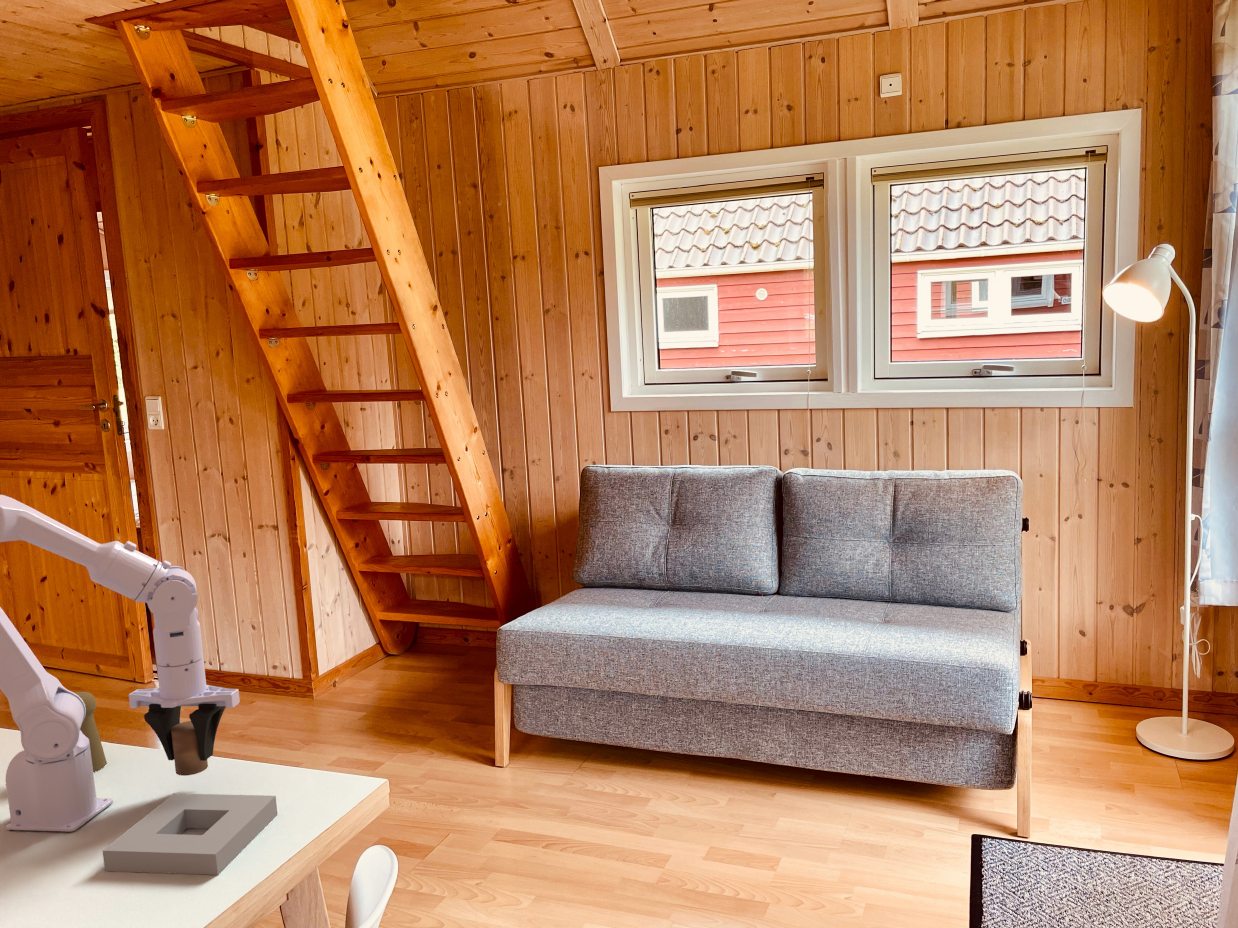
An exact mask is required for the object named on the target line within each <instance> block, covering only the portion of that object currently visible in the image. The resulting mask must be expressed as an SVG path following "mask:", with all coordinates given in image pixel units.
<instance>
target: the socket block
mask: <svg viewBox="0 0 1238 928" xmlns="http://www.w3.org/2000/svg"><path fill="white" fill-rule="evenodd" d="M277 815H278V806H277V797H276V795H259V794H258V795H257V794H218V793H217V794H214V793H213V794H212V793H211V794H210V793H208V794H207V793H172V794H171V795H170V796H169V797H167V798H166V799H165V800H163V801H162V802H161V803H160V804H159V805H157V806H156V807H155V808H154V809H152V810H151V811H150V812H148V813H147V814H146V815H145V816H143V818H141V819H140V820H139V821H137V822H136V823H135V824H134V825H132V826H131V827H130V828H129V829H128V830H126V831H125V832H124V833H123V834H121V835H120V836H119V837H117V838H116V839H115V840H114V841H112V842H111V843H110V844H109V845H107V847H105V848H104V849H102V857H103V859H102V860H103V865H104V871H105V872H125V873H132V872H133V873H150V874H151V873H153V874H154V873H155V874H156V873H157V874H158V873H159V874H184V875H186V874H187V875H188V874H189V875H206V876H207V875H210V876H213V875H215V876H219V875H220V873H221V872H222V871H224V869H226V867H227V866H228V865H229V864H230V863H232V861H233V860H234V859H236V857H237V856H239V855H240V853H241V852H242V851H243V850H244V849H245V848H246V847H247V846H248V845H249V844H250V843H251V842H252V841H253V840H254V839H255V838H256V837H257V836H258V835H259V834H260V833H261V832H262V831H263V830H264V829H265V828H266V827H267V826H268V824H270V823H271V822H272V820H273V819H275V818H276V817H277ZM186 829H202V830H203V829H207V830H206V831H205V832H204V833H203V834H183V832H184V831H185V830H186Z"/></svg>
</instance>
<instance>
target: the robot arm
mask: <svg viewBox="0 0 1238 928" xmlns="http://www.w3.org/2000/svg"><path fill="white" fill-rule="evenodd" d="M12 541H13V542H15V541H24V542H26V543H29V544H32V545H34V546H35V547H36V546H37V547H39V548H41V549H43V550H45V551H48V552H50V553H53V554H55V555H57V556H60V557H63V558H65V559H68V560H70V561H72V562H74V563H77V564H79V565H82V566H84V567H86V569H87V571H88V576H89V578H90V580H91V581H92V582H94V583H96V584H98V585H100V586H103V587H104V588H107V589H110V591H113V592H116V593H117V594H120V595H122V596H124V597H126V598H128V599H131V600H133V601H135V602H137V603H146V604H147V607H148V609H149V611H150V613H151V614H153V624H154V628H153V630H152V634H153V635H152V636H153V643H154V644H153V645H154V651H155V652H154V653H155V662H156V669H157V670H156V671H157V680H158V687H152V688H139V689H138V688H137V689H136V690H134V691H132V692H130V693H129V694H128V700H129V708H130V709H138V708H141V707H148V712H146V713H144V715H143V718H144V721H145V722H146V723H147V724H148V725H149V727H150V728H151V729H152V730H153V731H154V733H155V734H156V736H157V739H159V742H160V743H161V746H162V748H163V751H164V752H165V755H166V758H167V760H168V761H174V752H173V743H172V734H171V728H172V727H173V726H175V725H177V724H179V723H181V710H182V707H198V708H197V709H195V710H194V711H192V712H191V713H190V714H189V721H191V722H192V724H193V727H194V730H195V733H196V737H197V744H198V753H199V757H200V760H201V761H205V760H207V761H208V759H209V758H211V757H212V756H213V755H214V747H215V740H216V736H217V731H218V727H219V724H220V722H221V721H220V720H221V719H222V717H223V714H224V712H225V710H226V709H234V708H235V707H236V706H238V705H239V704H240V702H241V701H240V700H241V699H240V691H239V689H238V688H227V687H226V688H225V687H221V686H215V685H209V684H207V680H206V679H207V678H206V668H205V659H204V650H203V641H202V630H201V623H200V621H199V620H198V619H199V610H198V608H197V604H198V601H199V595H198V592H197V583H196V580H195V578H194V576H192V574H191V573H190V572H188V571H187V570H185V569H184V567H183V566H179V565H172V562H170V561H168V560H166V559H164V560H163V561H162V562H161V561H160V560H158V559H156V558H153V557H151V556H149V555H147V554H144V553H143V552H141V551H140V550H139V551H138V550H136V549H137V544H136V543H135V542H132V541H130V540H127V541H126V542H125V544H124V543H122V542H120V541H118V540H114V541H110V542H105V543H99V542H97V541H95V540H93V539H91V538H90V537H88V536H85V535H84V534H82V533H80V532H79V531H76V530H74V529H72V528H70V527H69V526H67V525H65V524H63V523H61V522H59V521H58V520H56V519H53V518H52V517H50V516H48V515H46V514H44V513H42V512H41V511H38V510H37V509H35V508H33V507H31V506H29V505H28V504H27V505H26V504H25V503H23V502H21V501H19V500H16V499H15V498H13V497H10V496H7V495H5V494H0V543H3V542H12ZM0 690H1V691H2V693H3V694H4V696H5V697H6V698H7V701H8V705H9V709H10V712H11V717H12V720H13V722H14V723H15V725H16V726H17V727H18V729H19V732H20V743H21V747H22V749H23V750H21V751H19V752H18V753H17V754H15V756H13V757H12V758H11V760H10V762H9V763H8V765H7V769H6V771H5V772H6V773H5V786H6V788H5V789H6V793H7V794H6V795H7V801H8V810H9V817H10V823H9V824H7V825H6V830H8V831H11V830H13V831H38V832H39V831H40V832H42V831H43V832H74V831H76V830H78V829H79V828H80V827H82V826H83V825H85V823H87V822H88V821H90V820H91V819H93V818H94V817H95V816H96V815H98V814H99V813H101V812H102V811H103V810H105V809H106V808H108V806H110V805H111V804H113V802H114V799H113V798H109V797H108V798H104V797H97V791H96V782H95V775H94V773H93V766H92V758H91V750H90V742H89V739H88V738H87V737H86V736H85V735H84V734H83V733H82V731H81V730H80V728H81V725H82V722H83V721H84V718H85V715H86V707H85V704H84V702H83V700H82V699H81V698H80V697H79V696H78V695H77V694H75V693H76V692H73V691H71V690H69V689H67V688H66V687H65V686H63V684H62V683H61V682H60V681H59V679H58V677H55V676H54V675H52V674H51V673H49V672H48V671H46V669H45V668H44V667H43V665H42V664H41V662H40V661H39V659H38V658H37V656H36V655H35V654H34V652H33V650H31V648H30V647H29V645H28V644H27V642H26V641H25V640H24V638H23V637H22V635H21V634H20V632H19V631H18V629H17V628H16V627H15V625H14V624H13V623H12V621H11V620H10V618H9V616H7V614H6V613H5V611H4V610H3V609H2V607H1V606H0Z"/></svg>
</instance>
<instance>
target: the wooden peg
mask: <svg viewBox="0 0 1238 928" xmlns="http://www.w3.org/2000/svg"><path fill="white" fill-rule="evenodd" d="M171 734H172V743H173V752H174V760H173V761H174V768H175V769H174V771H175V773H176V775H178V776H192V775H197V774H200V773H201V772H204V771H206V769H208V768H209V765H208V764H209V762H208V759H207V760H205V761H201V760H200V757H199V753H198V744H197V737H196V733H195V730H194V727H193V724H192V722H191V720H188V721H187V720H186V721H183V722H180V723H179V724H177V725H175V726H173V727H172V728H171Z"/></svg>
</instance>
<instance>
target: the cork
mask: <svg viewBox="0 0 1238 928" xmlns="http://www.w3.org/2000/svg"><path fill="white" fill-rule="evenodd" d="M74 693H75V694H77V695H78V696H79V697H80V698H81V699H82V700H83V702H84V704H85V707H86V715H85V718H84V721H83V722H82V725H81V728H80V730H81V731H82V733H83V734H84V735H85V736H86V737H87V738H88V739H89V742H90V750H91V758H92V766H93V772H94V773H96V772H95V771H97V770H99V771H100V770H102V769H104V768H105V767H106V766H107V763H108V762H107V760H106V759H107V758H106V755H105V752H104V748H103V745H102V741H101V738H100V734H99V730H98V727H97V724H96V721H95V717H94V713H95V711H96V710H97V700H96V698H95V695H93V694H92V693H90V692H88V691H77V692H74ZM105 765H106V766H105ZM104 766H105V767H104ZM101 768H102V769H101ZM97 772H98V771H97Z"/></svg>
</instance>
